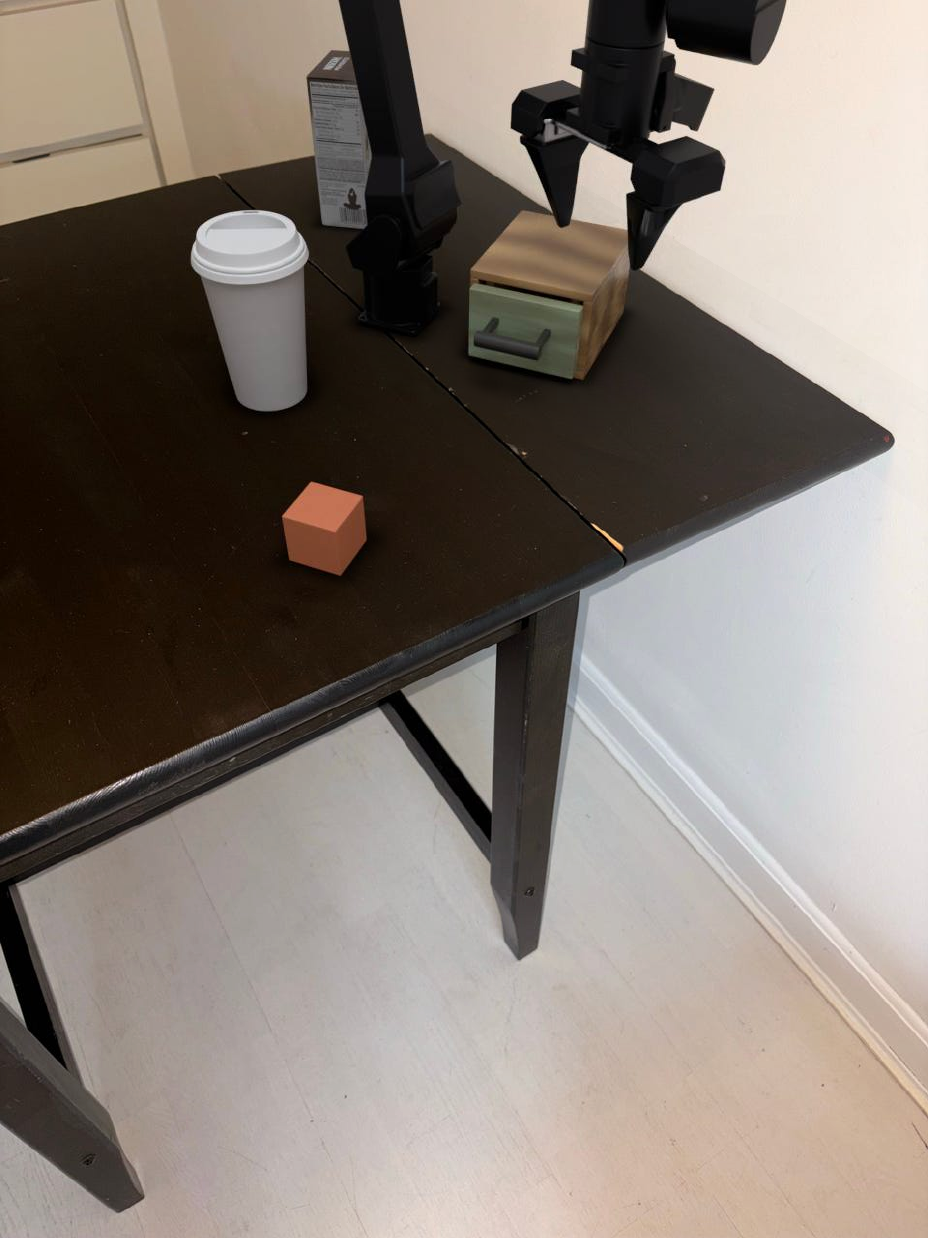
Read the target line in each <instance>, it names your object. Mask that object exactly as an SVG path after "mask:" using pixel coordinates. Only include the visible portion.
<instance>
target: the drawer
mask: <svg viewBox="0 0 928 1238" xmlns="http://www.w3.org/2000/svg"><path fill="white" fill-rule="evenodd" d="M583 302H584V301H580V300H576V299H571V298H566V297H561V296H557V295H552V294H547V293H542V292H537V291H533V290H528V289H523V288H518V287H514V286H509V285H504V284H499V283H494V282H490V281H487V286H486V285H482V284H477V283H474V284H473V285H472V286H471V287H470V286H469V289H468V346H467V347H468V354H467V355H468V356H470V357H474V358H477V359H483V360H488V361H491V362H496V363H501V364H504V365H507V366H508V365H509V366H513V367H518V368H522V369H525V370H531V371H534V372H538V373H542V374H547V375H552V376H556V377H561V378H565V379H569V380H573V379H574V378H573V377H574V375H575V374H576V369H577V360H578V351H579V341H580V332H581V323H582V314H583Z"/></svg>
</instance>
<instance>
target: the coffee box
mask: <svg viewBox="0 0 928 1238" xmlns="http://www.w3.org/2000/svg"><path fill="white" fill-rule="evenodd" d="M305 78H306V86H307V97H308V104H309V114H310V123H311V125H310V126H311V133H312V144H313V153H314V163H315V172H316V181H317V189H318V191H317V192H318V201H319V208H320V218H321V225H323V226H328V227H338V228H348V229H358V230H363V229H364V228H365V227H366V226H367V217H366V207H365V196H364V192H365V187H366V182H367V177H368V172H369V167H370V163H371V149H370V144H369V139H368V135H367V130H366V125H365V121H364V116H363V112H362V107H361V102H360V98H359V93H358V89H357V84H356V79H355V75H354V70H353V65H352V61H351V56H350V52H349V50H337V49H333V50H332V49H331V50H330V51H329V52H328V53H327V54H326V55H324V57H323V58H322V59H321V60H320V61H319V62H318V63H317V65H315V67H314V68H313V69H312V70H311V71H310V72H309V73H308V74H307V75H306V77H305Z"/></svg>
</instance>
